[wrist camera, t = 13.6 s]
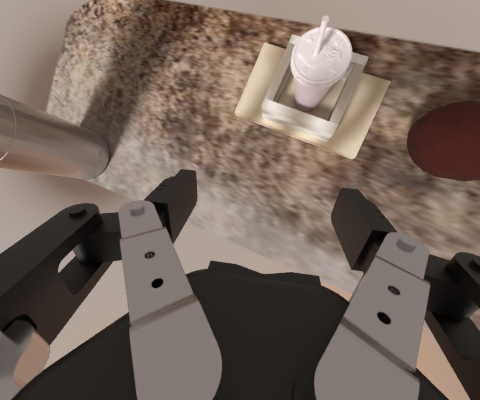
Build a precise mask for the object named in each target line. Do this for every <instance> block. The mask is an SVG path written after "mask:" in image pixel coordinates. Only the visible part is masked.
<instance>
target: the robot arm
mask: <svg viewBox="0 0 480 400" xmlns="http://www.w3.org/2000/svg"><path fill="white" fill-rule="evenodd" d="M108 160H109V148H108V145H107V143H106V141H105V139H104V138H103V137H102V136H101V135H99V134H98V133H95V132H93V131H91V130H88V129H86V128H83V127H81V126H78V125H76V124H73V123H71V122H68V121H66V120H63V119H61V118H58V117H56V116H53V115H51V114H48V113H46V112H43V111H40V110H38V109H35V108H33V107H30V106H28V105H25V104H23V103H20V102H18V101H15V100H13V99H10V98H8V97H5V96H3V95H0V168H5V169H13V170H20V171H28V172H35V173H44V174H51V175H59V176H65V177H73V178H81V179H92V178H95V177H97V176H99V175H100V174H101V173H102V172H103V171H104V169H105V168H106V166H107V163H108ZM196 202H197V180H196V172H195V171H193V170H184V169H181V170H180V171H179V172H178V173H177V174H176V175H175V176H174V177H169V178H167V179H165V180H164V181H162V182H161V183H160V184H159V186H157V187H156V188H155V190H153V191H152V192H151V193H150V194H149V195H148V196H147V197H146V198H145V199H144V200H140V201H133V202H130V203H127V204H126V205H124V206H122V207H121V208H120V209H119V211H118V212H117V213H103V214H100V212H99V209H98V207H97V206H96V205H95V204H90V203H83V204H77V205H73V206H70V207H68V208H65V209H64V210H62V211H60V212H59V213H58V214H56V215H55V216H53V217H52V218H50V219H49V220H48V221H46V222H45V223H44V224H42V225H41V226H39V227H38V228H36V229H35V230H34V231H32V232H31V233H30V234H28V235H26V236H25V237H24V238H22V239H21V240H19V241H18V242H17V243H15V244H14V245H12V246H11V247H10V248H8V249H7V250H5V251H4V252H2V253H1V254H0V400H449V399H448V398H447V397H446V396H445V395H444V394H443V393H441V391H439V390H438V389H437V388H436V387H435V386H434V385H433V384H432V383H431V382H430V381H429V380H428V379H427V378H426V377H425V376H424V375H423V374H422V373H421V372H420V371H419V370H418V369H417V368H416V363H417V357H418V352H419V346H420V341H421V334H422V329H423V324H424V320H425V321H426V323H427V325H428V327H429V328H430V330H431V332H432V334H433V335H434V337H435V339H436V341H437V342H438V344H439V346H440V347H441V349H442V351H443V353H444V354H445V356H446V358H447V360H448V361H449V363H450V365H451V367H452V368H453V370H454V372H455V373H456V375H457V377H458V379H459V381H460V382H461V384H462V386H463V387H464V389H465V391H466V393H467V394H468V396H469V398H470V400H480V331H479V330H478V328H477V327H476V326H475V324H474V323H473V322H472V321H471V319H470V318H469V316H471V315H472V314H473V313H474V312H475V311H477V310H478V309H479V308H480V257H479V256H476V255H474V254H470V253H464V252H460V253H457V254H456V255H455V256H454V257H453V258H452V259H451V260H450V261H449V260H446V259H443V258H440V257H437V256H434V255H430V254H429V251H428V249H427V248H426V246H425V245H424V244H423V243H421V242H420V241H418V240H417V239H415V238H413V237H411V236H409V235H406V234H403V233H398V232H397V231H396V230H395V228H394V227H393V226H392V225H391V223H390V222H389V221H388V220H387V219H386V218H385V216H384V215H383V214H382V213H381V211H380V210H379V209H378V208H377V206H376V205H374V204H373V203H372V202H370V201H369V200H367V199H365V197H364V196H363V195H362V193H361V192H360V191H359V190H358V189H350V188H342V189H341V190H340V192H339V195H338V197H337V200H336V203H335V205H334V208H333V211H332V214H331V222H332V225H333V227H334V229H335V232H336V234H337V237H338V239H339V241H340V244H341V246H342V248H343V251H344V253H345V256H346V258H347V260H348V263H349V265H350V267H351V270H357V271H363V273H364V274H363V276H362V278H361V280H360V281H359V283H358V285H357V287H356V289H355V290H354V292H353V294H352V296H351V298H350V299H349V301H347V300H346V299H344V298H343V297H341V296H340V295H339V294H337V293H335V292H333V291H332V290H330V289H328V288H326V287H323V286H321V283H320V279H319V276H314V275H307V274H300V273H293V272H288V273H275V274H261V273H258V272H256V271H253V270H250V269H248V268H245V267H242V266H240V265H237V264H231V263H223V262H217V261H210V264H209V267H208V269H203V270H197V271H194V272H191V273H188V274H186V275H185V272H184V270H183V267H182V265H181V263H180V260H179V258H178V256H177V253H176V251H175V248H174V246H173V243H174V242H175V240H176V238H177V237H178V235H179V233H180V232H181V230H182V228H183V226H184V224H185V223H186V221H187V219H188V217H189V216H190V214H191V212H192V210H193V209H194V207H195V205H196ZM72 250H73V251H74V253H75V255H76V256H75V257H74V258H73V259H72V260H71V261H70V262H69V263H68V264H67V265H66V266H65V267H64V268H63V269H62V270H61V272H59V273H58V267H59V264H60V262H61V260H62V259H63V258H64V257H65V256H66V255H67V254H68V253H69V252H70V251H72ZM117 260H122V263H123V271H124V278H125V286H126V294H127V301H128V309H129V312H128V313H127V314H125V315H124V316H122V317H121V318H119V319H118V320H116V321H115V322H114V323H112V324H110V325H109V326H108V327H106V328H105V329H103V330H102V331H100V332H99V333H97V334H96V335H95V336H93V337H91V338H90V339H89V340H87V341H86V342H84V343H83V344H81V345H80V346H78V347H77V348H75V349H74V350H72V351H71V352H69V353H68V354H67V355H65V356H64V357H62V358H61V359H59V360H58V361H56V362H55V363H53V364H52V365H50V366H49V367H47V368H46V369H45V370H43V368H44V367H45V365H46V363H47V361H48V359H49V355H50V344H51V343H52V342H53V340H54V339H55V338H56V337H57V335H58V334H59V333H60V331H61V330H62V329H63V327H64V326H65V325H66V323H67V322H68V321H69V319H70V318H71V317H72V315H73V314H74V313H75V311H76V310H77V309H78V307H79V306H80V305H81V303H82V302H83V301H84V299H85V298H86V297H87V295H88V294H89V293H90V292H91V290H92V289H93V288H94V286H95V285H96V284H97V282H98V281H99V279H100V278H101V277H102V275H103V274H104V273H105V272H106V270H107V269H108V268H109V266H110V265H111V264H112V262H113V261H117Z"/></svg>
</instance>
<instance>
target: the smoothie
mask: <svg viewBox="0 0 480 400" xmlns="http://www.w3.org/2000/svg"><path fill="white" fill-rule="evenodd" d="M328 20H329V17H328V16H324V17H323V18H322V22H321V26H320V27H317V28H314V29H312V30H310V31H308V32H306V33H305V34H303V35H302V36H301V37H300V38H299V39H298V41H297V42H296V44H295V46H294V48H293V51H292V56H291V64H290V67H291V71H292V74H293V76H294V89H295V103H296V106H297V107H298V108H299V109H300V110H302V111H311V110H313V109H315V108H316V107H317V106H318V105H319V103H320V102H321V101H322V99H323V98H324V96H325V95H326V94H327V92H328V91H329V90H330V88H331V87H332V86H333V84H334V83H336V82H338V81H339V80H340V79H341V78H342V77H343V76H344V74H345V72H346V71H347V69H348V66H349V64H350V61H351V58H352V46H351V43H350V40H349V39H348V37H347V36H346V35H345V34H344V33H343V32H342V31H340V30H338V29H336V28H333V27H327V23H328Z"/></svg>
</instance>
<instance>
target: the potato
mask: <svg viewBox="0 0 480 400" xmlns="http://www.w3.org/2000/svg"><path fill="white" fill-rule="evenodd" d="M407 147H408V151H409V154H410V157H411V158H412V160H413V162H414V163H415V164H416V165H417V166H418V167H419V168H421V169H422V170H423V171H425V172H427V173H429V174H431V175H433V176H436V177H441V178H448V179H454V180H460V181H471V180H480V102H473V101H465V102H459V103H452V104H449V105H446V106H443V107H441V108H438V109H435V110H433V111H431V112H429V113H428V114H426V115H425V116H423V117H422V118H421V119H419V120H418V121H417V122H416V123H415V124H414V126H413V127H412V128H411V130H410V131H409V134H408V139H407Z"/></svg>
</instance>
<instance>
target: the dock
mask: <svg viewBox="0 0 480 400" xmlns="http://www.w3.org/2000/svg"><path fill="white" fill-rule="evenodd" d="M299 38H300V37H299V36H296V35H292V36H291V39H290V41H289V43H288V46H287V48H286V49H284V48H281V47H278V46H274V45H271V44H268V43H264V45H263V47H262V50H261V52H260V54H259V57H258V59H257V61H256V64H255V66H254V68H253V71H252V73H251V75H250V78H249V80H248V82H247V85H246V87H245V89H244V92H243V94H242V96H241V99H240V101H239V103H238V106H237V108H236V110H235V114H236V116H239V117H242V118H244V119H247V120H250V121H252V122H255V123H257V124H260V125H263V126H265V127H268V128H271V129H273V130H276V131H279V132H281V133H284V134H286V135H289V136H292V137H294V138H297V139H300V140H302V141H305V142H308V143H310V144H313V145H315V146H318V147H321V148H323V149H326V150H329V151H331V152H334V153H337V154H339V155H342V156H345V157H347V158H350V159H354V158H355V157H356V155H357V153H358V151H359V149H360V147H361V145H362V142H363V140H364V138H365V136H366V134H367V132H368V130H369V127H370V125H371V123H372V121H373V119H374V117H375V115H376V112H377V110H378V108H379V106H380V104H381V102H382V100H383V97H384V95H385V93H386V91H387V89H388V87H389V85H390V83H391V81H388V80H385V79H382V78H378V77H375V76H372V75H369V74H365V73H362V71H363V69H364V67H365V65H366V63H367V61H368V58H369V57H367V56H364V55H360V54H357V53H354V52H352V58H351V61H350V64H349V66H348V69H347V71H346V72H345V74H344V76H343V77H342V78H341V79H340V80H339V81H338V82H336V83H334V84H333V86H332V87H331V88H330V90H329V91H328V92H327V94H326V95H325V96H324V98H323V99H322V101H321V102H320V103H319V105H318V106H317V107H316V108H315V109H313V110H311V111H302V110H300V109H299V108H298V107H297V106H296V103H295V89H294V76H293V74H292V71H291V67H290V64H291V56H292V51H293V48H294V46H295V44H296V42H297V41H298V39H299Z"/></svg>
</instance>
